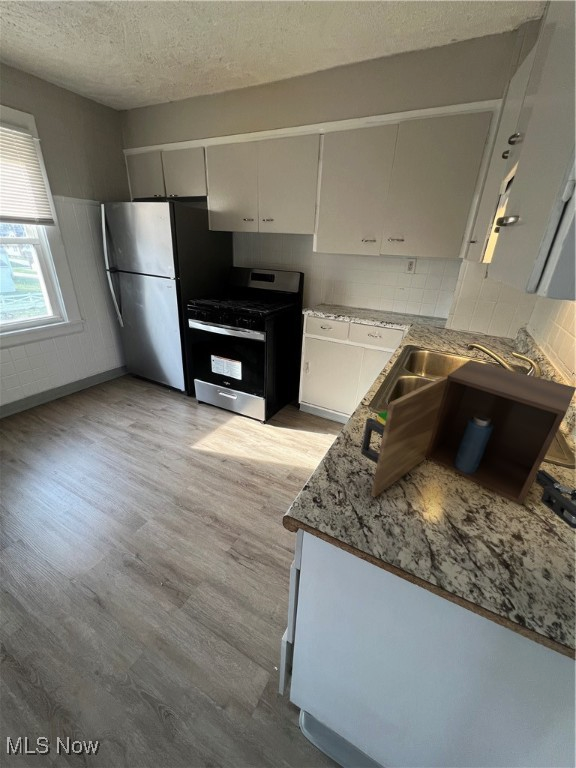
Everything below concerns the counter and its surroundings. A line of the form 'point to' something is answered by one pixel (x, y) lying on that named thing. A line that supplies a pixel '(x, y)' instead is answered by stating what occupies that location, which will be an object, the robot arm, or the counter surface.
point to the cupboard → (500, 424)
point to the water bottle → (473, 443)
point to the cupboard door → (403, 434)
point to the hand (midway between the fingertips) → (565, 474)
